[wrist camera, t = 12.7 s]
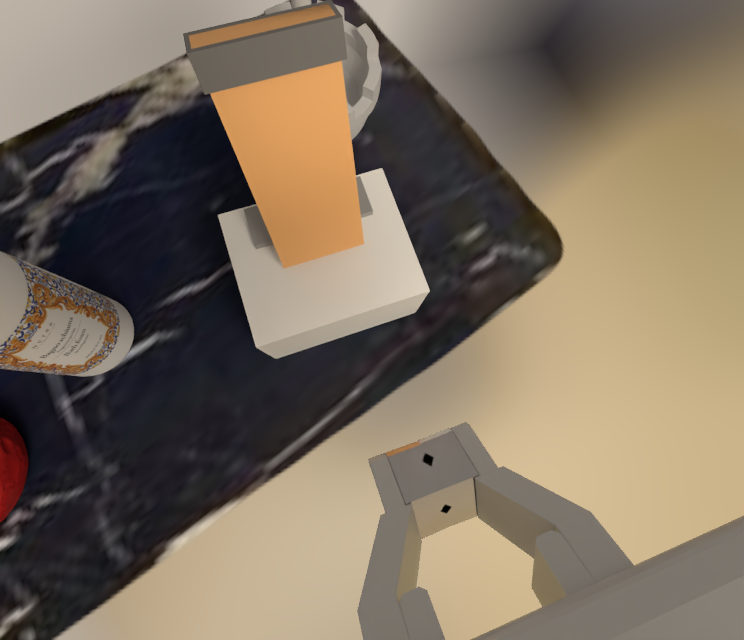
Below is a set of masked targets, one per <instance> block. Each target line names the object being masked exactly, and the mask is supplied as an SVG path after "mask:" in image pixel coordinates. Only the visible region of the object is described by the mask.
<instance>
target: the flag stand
mask: <svg viewBox="0 0 744 640" xmlns="http://www.w3.org/2000/svg"><path fill="white" fill-rule="evenodd" d="M319 2H323V1H318V0H317V3H319ZM310 4H311V0H291V5H290V2H285V3H282V4H279V5H275V6H273V7H271V8H269V9H267V10H265V11H264V14H265V15H267V14H271V13H275V12H280V11H284V10H288V9H293V8H297V7H301V6H306V5H310ZM334 5H335V4H334ZM291 6H292V8H291ZM335 6H336V8H337V9H338V11H339V12H340V14H341V15H342V17H343V24H344V33H345V42H346V51H347V60H343V61H342V67H343V76H344V84H345V92H346V100H347V108H348V116H349V124H350V132H351V140H352V139H353V138H354V137H355V136H356V135H357V134H358V133H359V131H360V130H361V129H362V127H363V125H364V123H365V121H366V118H367V117H368V116H369V114H370V113H371V112H372V110H373V108H374V106H375V104H376V102H377V100H378V95H379V91H380V83H381V71H382V68H381V66H380V62H379V58H378V47H379V44H378V42H377V40H376V38H375V36H374V34H373V32H372V31H371V30H370V28H369V27H368V26H367V25H366V23H365V24H363V25H362V26H360V27H359V28H356V27H355V26H353V25H352V24H350V23H348V22H347V21H345V20H344V8H343V7H340V6H337V5H335Z"/></svg>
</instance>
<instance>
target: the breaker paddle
mask: <svg viewBox="0 0 744 640" xmlns="http://www.w3.org/2000/svg"><path fill="white" fill-rule="evenodd" d="M183 35H184V40H185V46H186V51H187V55H188V57H189V60H190V62H191V64H192V67H193V69H194V71H195V73H196V76H197V78H198V80H199V83H200V85H201V87H202V90H203V92H204V94H205V95H206V94H211V97H212V99H213V102H214V104H215V106H216V109H217V111H218V113H219V116H220V118H221V121H222V123H223V125H224V128H225V130H226V132H227V135H228V137H229V140H230V142H231V144H232V147H233V149H234V151H235V154H236V156H237V159H238V161H239V163H240V166H241V168H242V170H243V173H244V175H245V177H246V180H247V182H248V185H249V187H250V189H251V192H252V194H253V196H254V199H255V201H256V204H257V206H258V208H259V211H260V213H261V215H262V218H263V220H264V223H265V225H266V227H267V230H268V232H269V234H270V237H271V239H272V241H273V244H274V246H275V249H276V251H277V253H278V256H279V258H280V260H281V263H282V265H283V268H288V267H291V266H294V265H298V264H301V263H304V262H307V261H311V260H314V259H317V258H320V257H324V256H327V255H330V254H333V253H337V252H340V251H343V250H347V249H350V248H353V247H356V246H360V245H363V244H364V238H363V229H362V221H361V213H360V205H359V197H358V189H357V181H356V173H355V165H354V157H353V148H352V140H351V132H350V124H349V116H348V108H347V100H346V92H345V84H344V76H343V67H342V61H343V60H347V51H346V42H345V33H344V24H343V17H342V15H341V14H340V12H339V11H338V9H337V8H336V6H335V5H334V4H333V2H332V1H331V0H327V1H323V2H319V3H314V4H310V5H306V6H301V7H297V8H293V9H288V10H284V11H280V12H275V13H271V14H267V15H262V16H258V17H253V18H249V19H245V20H240V21H236V22H232V23H228V24H223V25H219V26H214V27H210V28H206V29H201V30H197V31H193V32H188V33H184V34H183Z"/></svg>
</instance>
